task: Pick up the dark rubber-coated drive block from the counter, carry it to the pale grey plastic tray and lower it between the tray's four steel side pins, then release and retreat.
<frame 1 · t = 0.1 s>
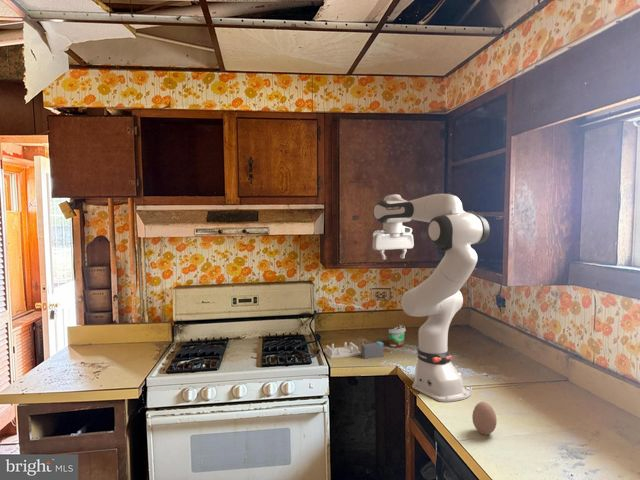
hand: (393, 259, 182), 48 cm above the counter, fingers open, 8 cm apart
pin tray: (342, 353, 195), on the counter
egg: (484, 434, 118), on the counter
food container: (399, 346, 204), on the counter
drive: (372, 356, 189), on the counter
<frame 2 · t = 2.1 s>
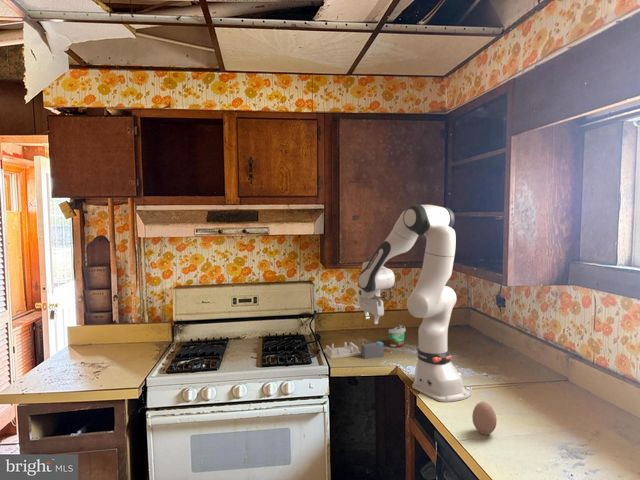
hand: (371, 321, 189), 17 cm above the counter, fingers open, 8 cm apart
nothing on the counter moved.
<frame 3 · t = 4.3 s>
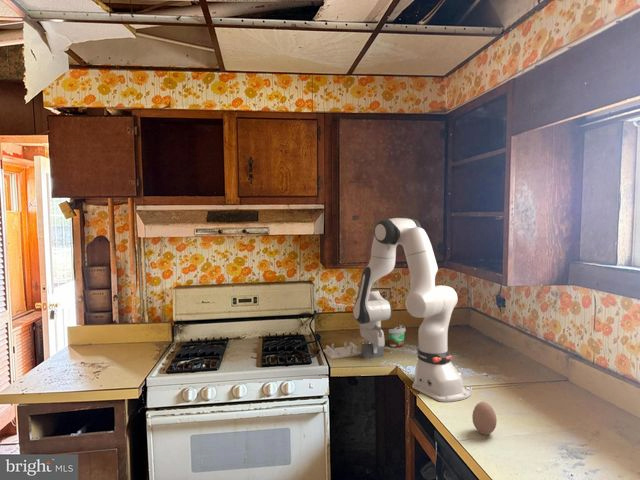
hand: (372, 350, 189), 3 cm above the counter, fingers closed on drive, 4 cm apart
drive: (372, 356, 189), on the counter, touching gripper
everything else where it was.
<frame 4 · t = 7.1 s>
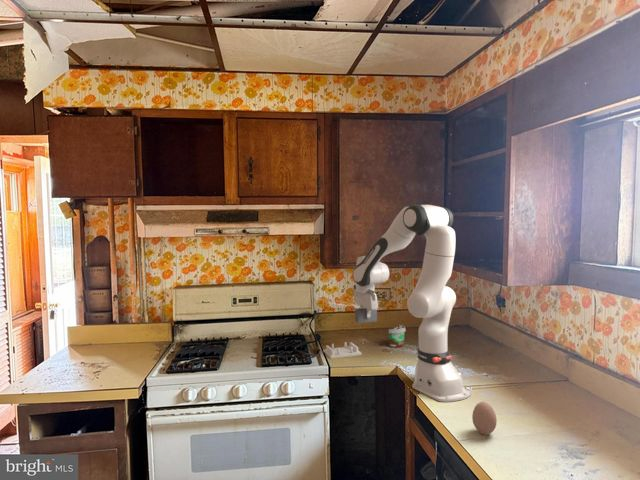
hand: (365, 315, 190), 20 cm above the counter, fingers closed on drive, 4 cm apart
drive: (366, 321, 190), point 17 cm above the counter, touching gripper
everything else where it was.
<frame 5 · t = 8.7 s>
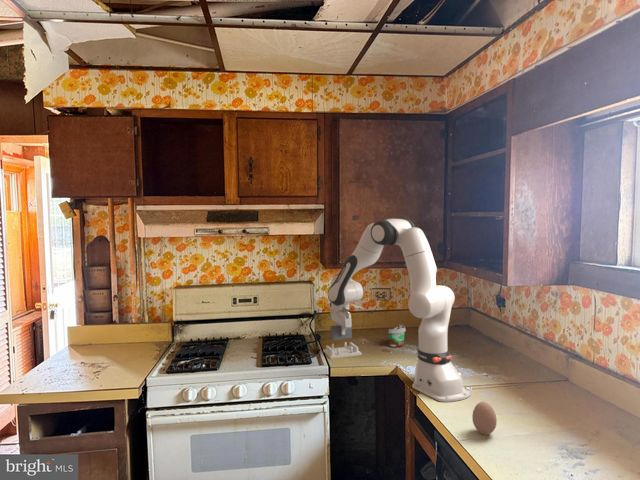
hand: (341, 332, 195), 10 cm above the counter, fingers closed on drive, 4 cm apart
drive: (341, 337, 195), point 8 cm above the counter, touching gripper
everything else where it was.
when the fingers open (5 cm above the counter, at t = 10.0 s): drive drops 1 cm, resting on pin tray.
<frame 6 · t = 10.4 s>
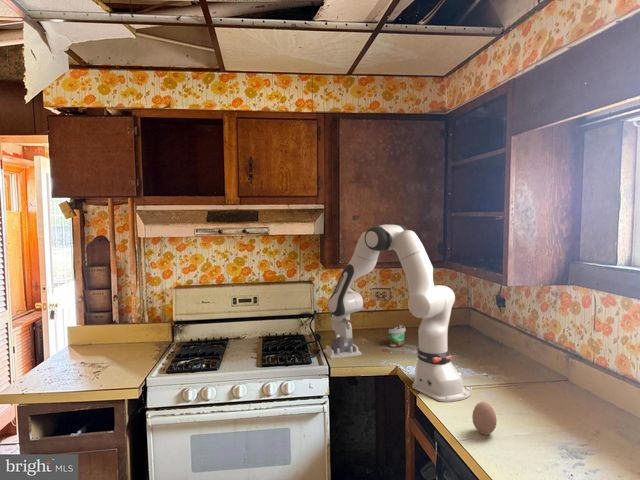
hand: (341, 343, 195), 5 cm above the counter, fingers open, 8 cm apart
drive: (342, 351, 195), point 1 cm above the counter, touching pin tray
everything else where it was.
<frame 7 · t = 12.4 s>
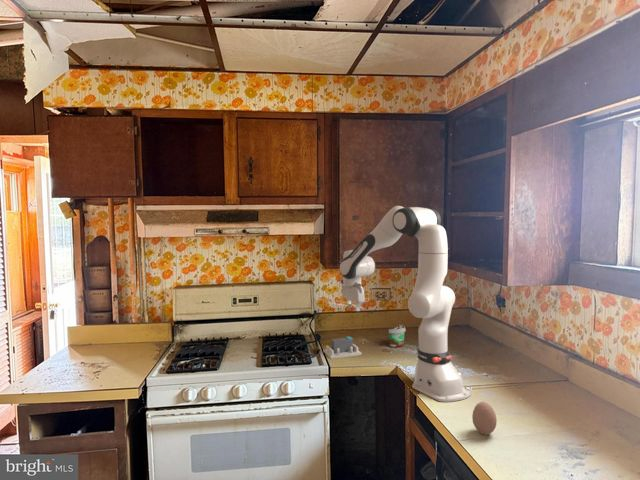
hand: (353, 309, 194), 22 cm above the counter, fingers open, 8 cm apart
nothing on the counter moved.
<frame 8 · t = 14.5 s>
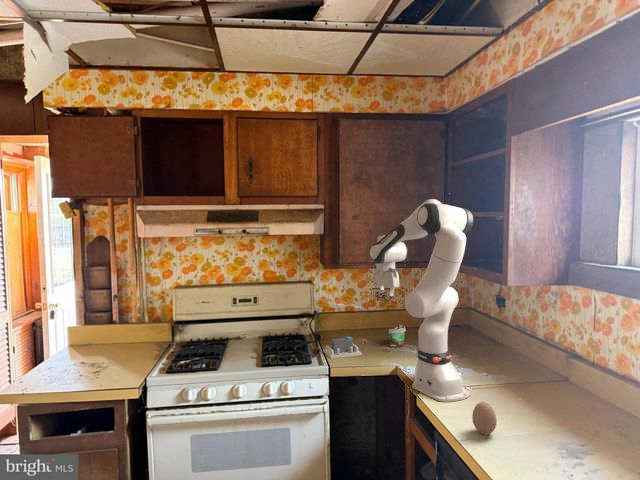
hand: (386, 294, 194), 29 cm above the counter, fingers open, 8 cm apart
nothing on the counter moved.
at the end: drive 0.1 cm off-centre on the pin tray, point 1.0 cm above the pin tray's base; drive tilted 0°; the gripper is holding nothing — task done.
